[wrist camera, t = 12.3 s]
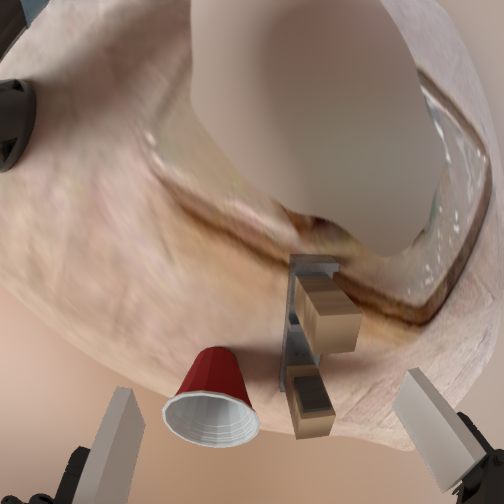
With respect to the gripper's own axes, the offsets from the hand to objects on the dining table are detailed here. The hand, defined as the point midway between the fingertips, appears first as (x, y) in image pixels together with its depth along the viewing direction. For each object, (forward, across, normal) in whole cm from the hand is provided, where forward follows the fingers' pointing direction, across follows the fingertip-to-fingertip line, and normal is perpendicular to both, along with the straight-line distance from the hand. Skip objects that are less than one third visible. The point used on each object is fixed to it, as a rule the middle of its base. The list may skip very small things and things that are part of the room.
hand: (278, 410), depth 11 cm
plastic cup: (+23, -4, -15) cm, 28 cm away
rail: (+22, +7, -10) cm, 25 cm away
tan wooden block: (+20, +7, -3) cm, 22 cm away
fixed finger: (+20, +7, -16) cm, 27 cm away
